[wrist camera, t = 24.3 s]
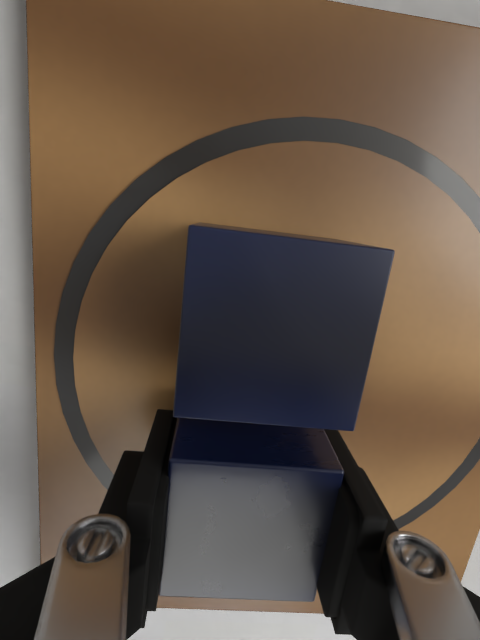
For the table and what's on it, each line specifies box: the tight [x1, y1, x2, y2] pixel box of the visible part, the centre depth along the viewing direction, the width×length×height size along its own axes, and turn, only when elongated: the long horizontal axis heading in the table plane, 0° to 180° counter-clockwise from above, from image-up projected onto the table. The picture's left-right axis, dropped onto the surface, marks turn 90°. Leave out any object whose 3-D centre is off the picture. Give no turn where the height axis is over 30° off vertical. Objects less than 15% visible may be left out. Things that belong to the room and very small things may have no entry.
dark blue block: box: [159, 418, 344, 602], centre depth 10 cm, size 4×4×4 cm
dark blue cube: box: [173, 222, 395, 431], centre depth 9 cm, size 4×4×4 cm
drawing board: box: [26, 0, 480, 614], centre depth 12 cm, size 20×16×1 cm
